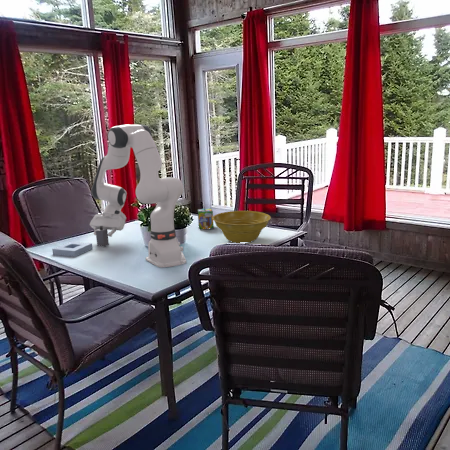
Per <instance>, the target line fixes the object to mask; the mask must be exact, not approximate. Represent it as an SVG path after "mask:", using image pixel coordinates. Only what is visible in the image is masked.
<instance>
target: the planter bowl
mask: <svg viewBox="0 0 450 450" xmlns="http://www.w3.org/2000/svg"><path fill="white" fill-rule="evenodd" d="M212 219H213V222H214V223H215V225H216V227H217V228H218V229H219V230H220V231H221V232H222V234H223V235H224V237H225V238H226V240H227V241H229V242H230V241H232V242H231V243H233V242H236V243H235V244H241V243H240V242H250V243H252V242H251V241H253V242H254V241H255V240H257V239H258V237H259V236H260V234H261V233H262V230H263V229H265V228H267V225H268V223H269V221H271V219H272V216H271V215H269V214H267V213H264V212H260V211H252V210H232V211H224V212H220V213H218V214H215V215H214V214H213V217H212Z"/></svg>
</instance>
